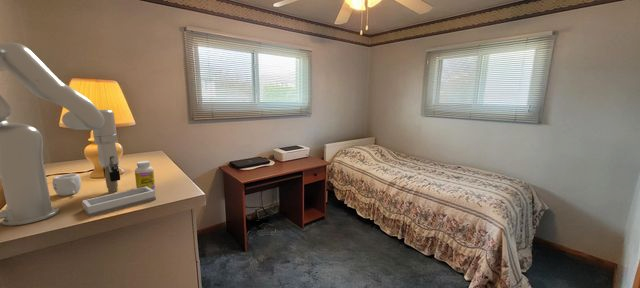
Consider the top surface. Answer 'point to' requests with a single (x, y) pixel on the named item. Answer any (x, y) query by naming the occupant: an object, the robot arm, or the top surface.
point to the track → (118, 200)
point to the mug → (67, 184)
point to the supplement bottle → (144, 175)
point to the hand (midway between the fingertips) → (112, 178)
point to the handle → (110, 185)
